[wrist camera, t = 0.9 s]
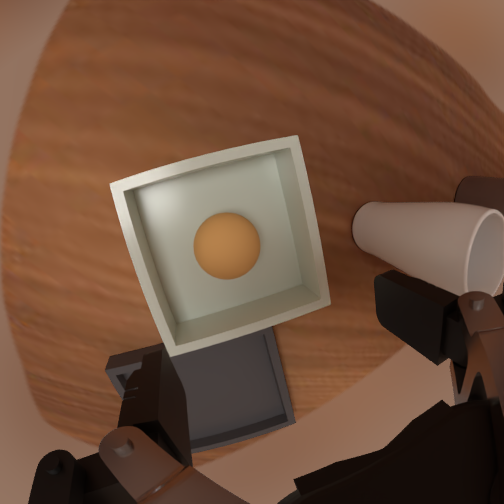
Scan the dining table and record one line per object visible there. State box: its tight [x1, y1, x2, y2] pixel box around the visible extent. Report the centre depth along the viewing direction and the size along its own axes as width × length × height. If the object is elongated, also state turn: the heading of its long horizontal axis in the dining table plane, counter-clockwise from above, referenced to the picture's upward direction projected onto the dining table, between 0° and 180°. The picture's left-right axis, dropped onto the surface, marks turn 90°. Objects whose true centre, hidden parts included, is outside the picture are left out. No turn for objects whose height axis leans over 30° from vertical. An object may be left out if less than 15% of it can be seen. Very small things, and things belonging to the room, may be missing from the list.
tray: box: [105, 326, 296, 454], centre depth 27 cm, size 16×14×2 cm
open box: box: [110, 135, 331, 357], centre depth 23 cm, size 14×14×5 cm
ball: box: [193, 212, 260, 280], centre depth 22 cm, size 5×5×5 cm
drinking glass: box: [352, 201, 504, 297], centre depth 21 cm, size 7×7×15 cm
